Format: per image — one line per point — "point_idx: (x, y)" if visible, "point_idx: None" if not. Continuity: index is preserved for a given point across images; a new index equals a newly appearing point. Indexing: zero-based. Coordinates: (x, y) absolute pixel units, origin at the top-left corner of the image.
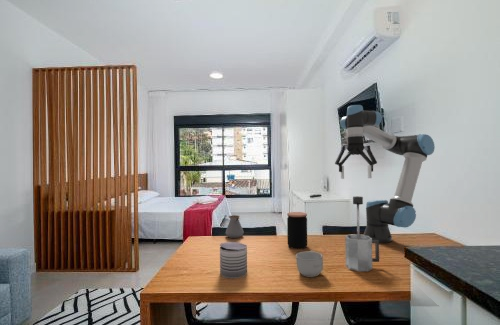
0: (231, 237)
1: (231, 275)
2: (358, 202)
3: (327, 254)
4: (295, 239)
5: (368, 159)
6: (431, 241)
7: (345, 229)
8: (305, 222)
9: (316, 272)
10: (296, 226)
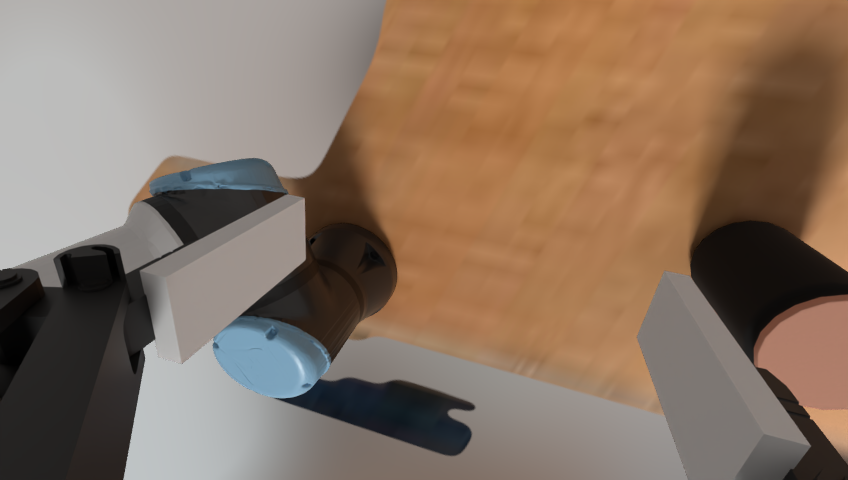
0: None
1: None
2: None
3: (661, 125)
4: (801, 241)
5: (55, 369)
6: None
7: (402, 408)
8: (776, 283)
9: None
10: (841, 270)
